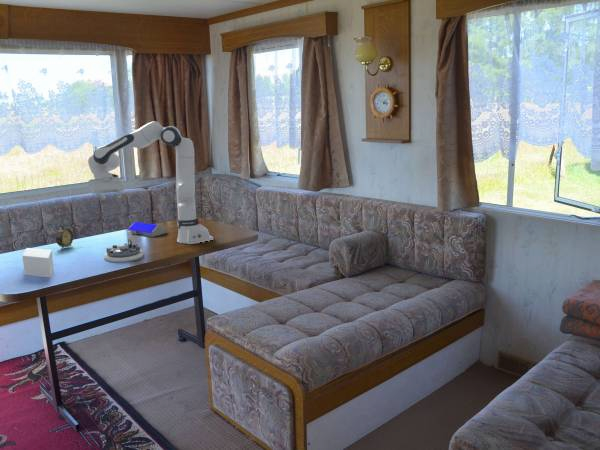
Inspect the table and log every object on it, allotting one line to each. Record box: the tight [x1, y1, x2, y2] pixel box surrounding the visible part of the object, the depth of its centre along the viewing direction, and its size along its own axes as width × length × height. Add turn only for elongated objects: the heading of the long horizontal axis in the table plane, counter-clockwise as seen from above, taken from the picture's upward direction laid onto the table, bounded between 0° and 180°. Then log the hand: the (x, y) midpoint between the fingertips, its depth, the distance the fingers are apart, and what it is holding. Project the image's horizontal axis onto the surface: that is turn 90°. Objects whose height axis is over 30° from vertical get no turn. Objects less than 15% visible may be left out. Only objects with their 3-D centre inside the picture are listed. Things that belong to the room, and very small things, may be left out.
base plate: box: [103, 244, 144, 263], centre depth 306 cm, size 21×21×6 cm
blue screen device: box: [126, 221, 167, 238], centre depth 361 cm, size 22×14×7 cm, turn 60°
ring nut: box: [105, 230, 141, 257], centre depth 305 cm, size 18×18×11 cm
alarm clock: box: [55, 221, 74, 251], centre depth 325 cm, size 11×5×16 cm, turn 168°
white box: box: [21, 247, 54, 278], centre depth 281 cm, size 14×29×10 cm, turn 46°
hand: (112, 197), depth 320 cm, fingers open, 8 cm apart
